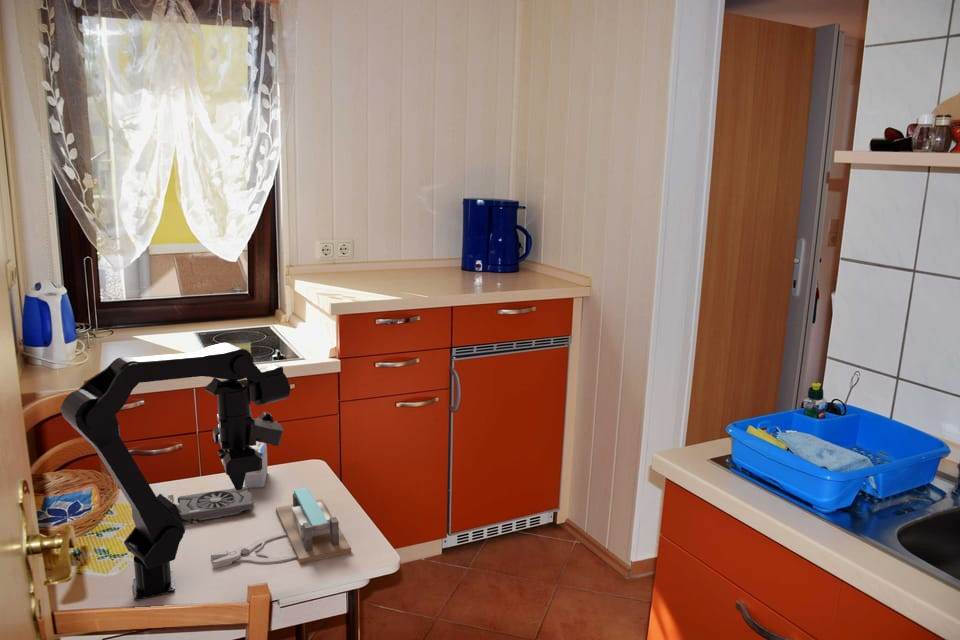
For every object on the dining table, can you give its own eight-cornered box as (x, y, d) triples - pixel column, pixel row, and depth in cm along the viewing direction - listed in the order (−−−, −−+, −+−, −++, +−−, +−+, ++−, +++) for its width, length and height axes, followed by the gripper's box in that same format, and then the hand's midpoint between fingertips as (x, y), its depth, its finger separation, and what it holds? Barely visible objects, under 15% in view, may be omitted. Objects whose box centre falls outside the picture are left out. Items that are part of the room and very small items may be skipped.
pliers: (298, 552, 142) (215, 571, 135) (298, 559, 142) (216, 579, 135) (285, 528, 150) (207, 545, 144) (286, 535, 151) (208, 552, 144)
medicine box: (248, 473, 177) (246, 439, 175) (268, 472, 178) (266, 438, 176) (244, 488, 170) (242, 453, 168) (264, 487, 170) (263, 452, 168)
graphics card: (170, 520, 149) (167, 493, 159) (171, 537, 150) (168, 509, 160) (257, 506, 156) (249, 481, 166) (257, 522, 157) (249, 496, 167)
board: (351, 552, 145) (350, 524, 143) (299, 563, 140) (298, 535, 139) (322, 503, 164) (321, 477, 162) (275, 511, 159) (274, 486, 158)
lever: (330, 529, 144) (329, 524, 144) (313, 533, 143) (313, 527, 142) (308, 491, 159) (308, 486, 159) (293, 494, 158) (293, 488, 157)
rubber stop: (312, 515, 158) (311, 494, 157) (295, 518, 157) (294, 497, 156) (310, 510, 160) (309, 490, 159) (293, 514, 159) (292, 493, 158)
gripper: (289, 422, 133) (292, 502, 137) (269, 390, 149) (272, 462, 153) (224, 431, 128) (229, 514, 132) (210, 397, 144) (215, 472, 148)
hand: (238, 488), depth 141 cm, fingers closed
